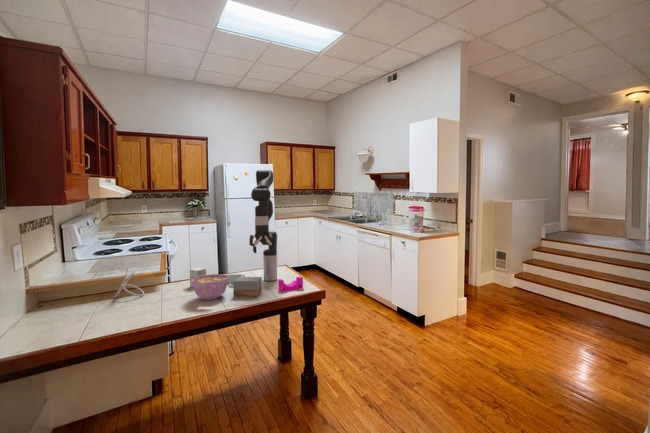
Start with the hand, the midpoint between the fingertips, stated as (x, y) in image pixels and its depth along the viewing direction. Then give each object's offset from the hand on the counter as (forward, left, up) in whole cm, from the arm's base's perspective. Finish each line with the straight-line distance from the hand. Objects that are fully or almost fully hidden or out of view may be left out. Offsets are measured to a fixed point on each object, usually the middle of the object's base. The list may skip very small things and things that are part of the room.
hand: (262, 252), depth 174 cm
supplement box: (-21, -48, -27) cm, 59 cm away
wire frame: (-1, -83, -30) cm, 89 cm away
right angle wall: (-23, -25, -27) cm, 43 cm away
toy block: (-19, +12, -27) cm, 36 cm away
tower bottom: (-7, -11, -27) cm, 30 cm away
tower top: (-7, -11, -22) cm, 26 cm away
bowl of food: (-1, -31, -27) cm, 41 cm away
